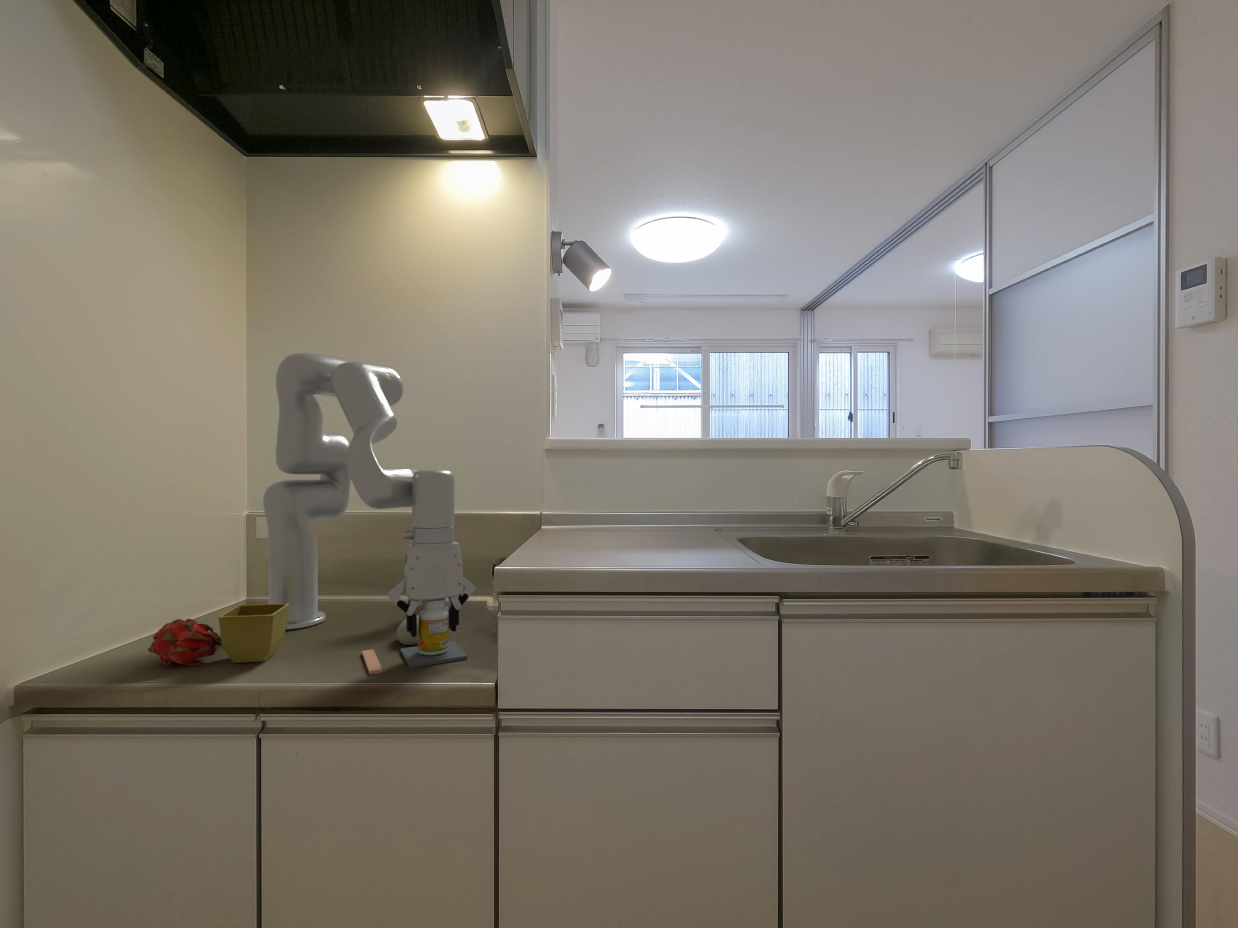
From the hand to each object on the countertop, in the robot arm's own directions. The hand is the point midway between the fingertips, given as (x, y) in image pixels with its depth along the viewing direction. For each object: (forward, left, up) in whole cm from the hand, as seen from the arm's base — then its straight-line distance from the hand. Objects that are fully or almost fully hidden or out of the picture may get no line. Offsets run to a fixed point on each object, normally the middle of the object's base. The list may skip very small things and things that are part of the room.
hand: (433, 631), depth 109 cm
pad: (0, 0, -4) cm, 4 cm away
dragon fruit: (-17, -39, -5) cm, 43 cm away
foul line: (-1, -10, -4) cm, 11 cm away
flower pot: (-14, -29, -5) cm, 32 cm away
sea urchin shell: (-11, 0, -5) cm, 12 cm away
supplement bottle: (0, 0, -4) cm, 4 cm away
